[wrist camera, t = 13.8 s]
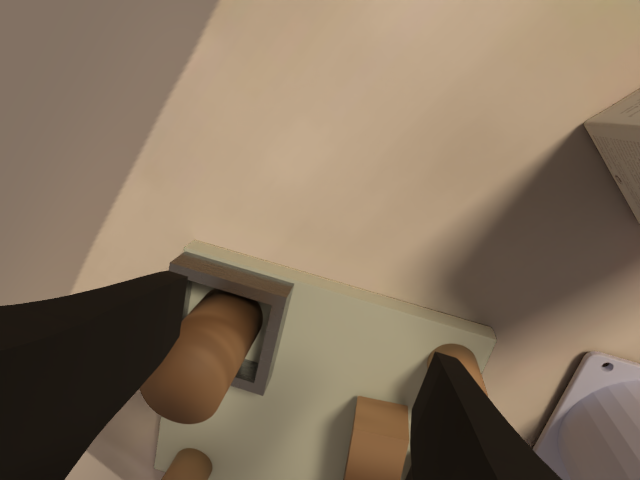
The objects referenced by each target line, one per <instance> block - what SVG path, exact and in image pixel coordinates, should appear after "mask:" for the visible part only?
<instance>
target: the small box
mask: <svg viewBox="0 0 640 480" xmlns="http://www.w3.org/2000/svg"><path fill="white" fill-rule="evenodd" d="M584 126H585V128H586V130H587V131H588V133H589V135H590V137H591V138H592V140H593V142H594V144H595V146H596V147H597V149H598V151H599V153H600V155H601V156H602V158H603V160H604V162H605V164H606V165H607V167H608V169H609V171H610V173H611V174H612V176H613V178H614V180H615V182H616V183H617V185H618V187H619V189H620V190H621V192H622V194H623V196H624V197H625V199H626V201H627V203H628V205H629V206H630V208H631V210H632V212H633V214H634V215H635V217H636V219H637V221H638V222H639V224H640V89H638V90H637V91H635V92H634V93H632V94H630V95H629V96H627V97H625V98H624V99H622V100H620V101H619V102H617V103H616V104H614V105H612V106H611V107H609V108H607V109H606V110H604V111H602V112H601V113H599V114H597V115H596V116H594V117H592V118H590V119H588V120H587V121H586V122H584Z"/></svg>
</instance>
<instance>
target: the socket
mask: <svg viewBox="0 0 640 480" xmlns="http://www.w3.org/2000/svg"><path fill="white" fill-rule="evenodd" d="M169 271H171V272H175V273H178V274H181V275H185V276H188V281H187V288H186V295H185V302H184V309H183V315H182V321H183V319H184V318H185V317H186V316H187V315H188V309H189V302H190V296H191V289H192V282H197V283H200V284H203V285H207V286H210V287H213V288H217V289H220V290H223V291H226V292H230V293H233V294H236V295H240V296H243V297H246V298H250V299H253V300H256V301H259V302H263V303H266V304H269V305H272V307H271V312H270V316H269V320H268V325H267V329H266V334H265V338H264V342H263V347H262V351H261V356H260V360H259V363H257V362H254V361H250V360H247V359H244V361H243V363H242V365H241V367H240V368H239V370H238V372H237V374H236V376H235V378H234V380H233V381H232V383H231V385H230V386H233V387H236V388H240V389H243V390H246V391H249V392H252V393H255V394H258V395H261V396H263V395H264V393H265V391H266V389H267V386H268V384H269V382H270V380H271V377H272V374H273V370H274V365H275V361H276V357H277V353H278V349H279V345H280V341H281V337H282V333H283V329H284V325H285V320H286V316H287V312H288V308H289V304H290V300H291V296H292V292H293V288H294V283H290V282H287V281H284V280H280V279H277V278H273V277H270V276H267V275H263V274H260V273H257V272H253V271H250V270H247V269H243V268H240V267H237V266H233V265H230V264H227V263H223V262H220V261H216V260H213V259H210V258H206V257H203V256H200V255H196V254H193V253H190V252H186V251H185V252H184V253H183V254H181V255H180V256H178V257H177V258H176V259H174V260H173V261H172V262H170V266H169Z"/></svg>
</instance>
